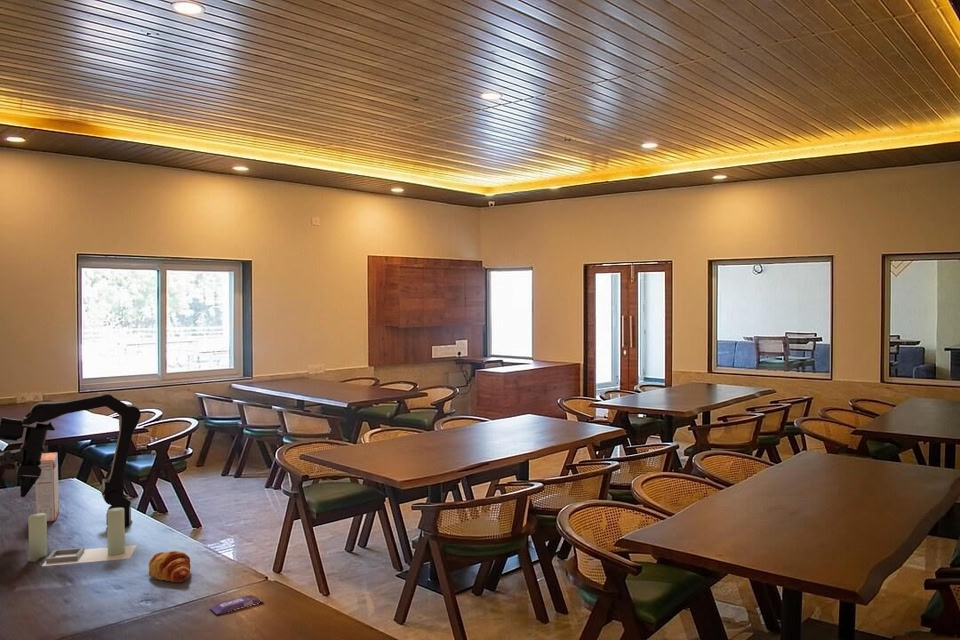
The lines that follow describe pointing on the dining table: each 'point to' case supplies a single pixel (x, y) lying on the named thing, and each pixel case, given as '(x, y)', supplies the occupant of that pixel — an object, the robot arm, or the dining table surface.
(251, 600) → the snack package
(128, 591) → the dining table surface
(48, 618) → the dining table surface
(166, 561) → the croissant
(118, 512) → the fixed pillar
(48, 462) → the cracker box
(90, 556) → the base plate
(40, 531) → the pillar
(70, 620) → the dining table surface
